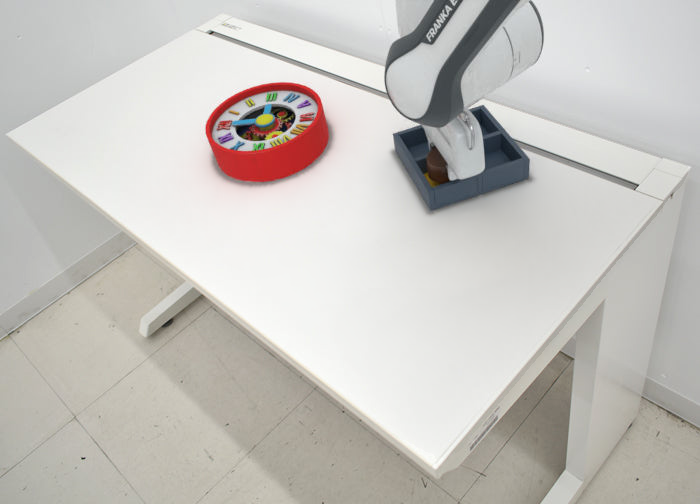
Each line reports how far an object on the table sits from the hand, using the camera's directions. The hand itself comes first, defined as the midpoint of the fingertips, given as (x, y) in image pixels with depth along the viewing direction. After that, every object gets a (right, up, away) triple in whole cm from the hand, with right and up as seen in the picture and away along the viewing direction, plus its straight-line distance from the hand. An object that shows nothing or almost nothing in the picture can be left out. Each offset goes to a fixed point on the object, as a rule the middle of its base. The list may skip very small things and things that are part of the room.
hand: (444, 163), depth 88 cm
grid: (+3, +1, +6) cm, 7 cm away
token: (0, -1, +1) cm, 2 cm away
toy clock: (-27, +6, +18) cm, 33 cm away
